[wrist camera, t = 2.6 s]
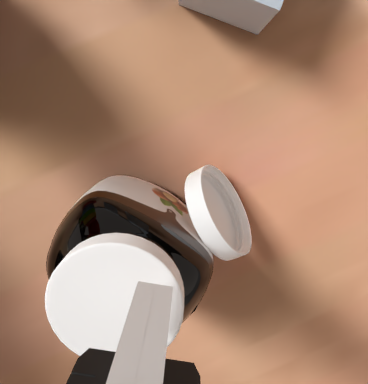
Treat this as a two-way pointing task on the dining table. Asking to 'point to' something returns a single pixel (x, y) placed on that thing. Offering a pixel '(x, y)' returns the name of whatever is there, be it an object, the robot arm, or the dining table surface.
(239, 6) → the pip block three
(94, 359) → the robot arm
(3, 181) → the dining table surface
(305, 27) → the dining table surface
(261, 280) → the dining table surface
